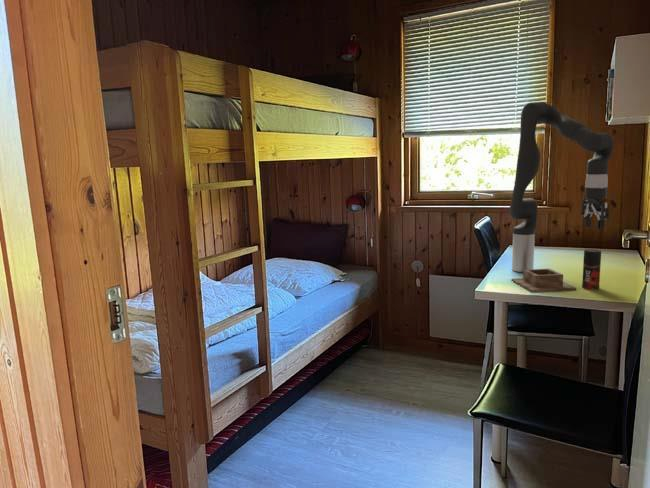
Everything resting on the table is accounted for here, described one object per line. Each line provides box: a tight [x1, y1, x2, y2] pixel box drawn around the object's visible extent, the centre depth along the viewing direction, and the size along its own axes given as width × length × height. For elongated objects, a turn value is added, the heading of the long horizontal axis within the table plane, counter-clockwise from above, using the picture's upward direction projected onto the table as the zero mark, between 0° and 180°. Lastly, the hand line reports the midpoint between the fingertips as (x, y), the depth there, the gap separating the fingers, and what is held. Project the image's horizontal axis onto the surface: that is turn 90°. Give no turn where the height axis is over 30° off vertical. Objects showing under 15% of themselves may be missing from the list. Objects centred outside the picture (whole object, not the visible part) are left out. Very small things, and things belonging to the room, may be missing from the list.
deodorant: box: [581, 248, 602, 291], centre depth 193 cm, size 6×6×15 cm
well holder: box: [511, 268, 577, 293], centre depth 200 cm, size 18×18×6 cm
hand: (593, 228), depth 190 cm, fingers open, 8 cm apart
